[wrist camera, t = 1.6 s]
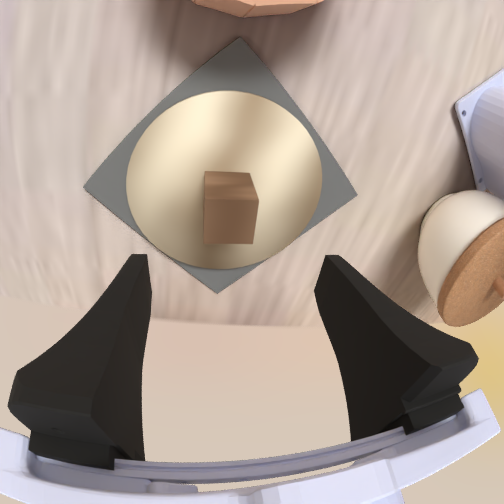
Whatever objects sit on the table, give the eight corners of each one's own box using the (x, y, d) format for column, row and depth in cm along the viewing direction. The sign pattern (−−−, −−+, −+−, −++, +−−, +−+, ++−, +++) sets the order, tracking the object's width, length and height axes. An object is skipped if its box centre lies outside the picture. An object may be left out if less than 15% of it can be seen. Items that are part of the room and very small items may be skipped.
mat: (355, 192, 20) (357, 194, 20) (217, 291, 24) (217, 293, 24) (239, 36, 13) (240, 36, 13) (84, 185, 17) (82, 187, 17)
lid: (335, 103, 16) (368, 121, 13) (298, 262, 23) (314, 303, 20) (126, 89, 14) (102, 102, 11) (137, 261, 21) (127, 304, 18)
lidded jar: (499, 185, 21) (562, 245, 14) (451, 270, 28) (496, 336, 20) (431, 153, 19) (517, 224, 12) (378, 263, 25) (427, 349, 18)
